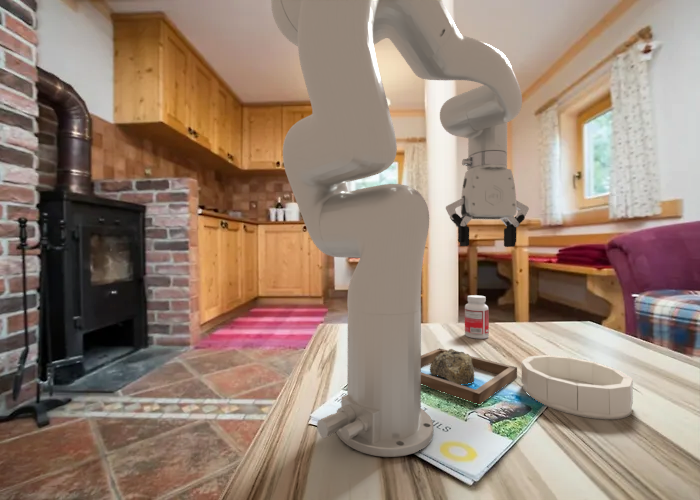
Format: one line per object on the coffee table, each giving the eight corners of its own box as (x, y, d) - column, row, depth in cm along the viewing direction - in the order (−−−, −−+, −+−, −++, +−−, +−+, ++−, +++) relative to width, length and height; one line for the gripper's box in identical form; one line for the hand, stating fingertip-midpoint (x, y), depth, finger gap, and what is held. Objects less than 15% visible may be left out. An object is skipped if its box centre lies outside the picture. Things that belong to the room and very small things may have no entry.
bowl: (626, 431, 41) (625, 397, 41) (510, 395, 51) (510, 368, 51) (636, 397, 50) (635, 370, 50) (537, 373, 60) (537, 350, 60)
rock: (488, 381, 57) (488, 356, 57) (455, 389, 54) (455, 362, 54) (459, 368, 63) (459, 345, 63) (427, 374, 60) (427, 350, 60)
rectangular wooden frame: (479, 405, 47) (479, 393, 47) (394, 375, 59) (394, 366, 59) (517, 377, 58) (517, 367, 58) (439, 356, 70) (439, 348, 70)
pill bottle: (479, 333, 91) (479, 294, 91) (493, 338, 85) (493, 297, 85) (460, 334, 90) (460, 295, 90) (473, 339, 84) (473, 298, 84)
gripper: (453, 158, 62) (453, 245, 62) (538, 160, 63) (538, 246, 63) (440, 169, 70) (440, 246, 69) (516, 171, 71) (516, 247, 70)
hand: (487, 246), depth 66 cm, fingers open, 9 cm apart
